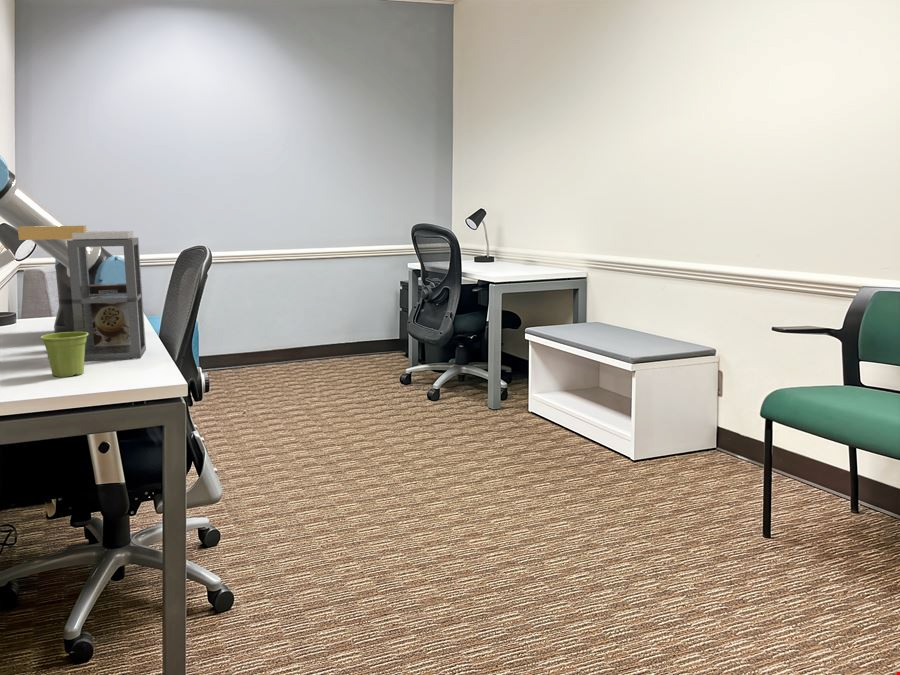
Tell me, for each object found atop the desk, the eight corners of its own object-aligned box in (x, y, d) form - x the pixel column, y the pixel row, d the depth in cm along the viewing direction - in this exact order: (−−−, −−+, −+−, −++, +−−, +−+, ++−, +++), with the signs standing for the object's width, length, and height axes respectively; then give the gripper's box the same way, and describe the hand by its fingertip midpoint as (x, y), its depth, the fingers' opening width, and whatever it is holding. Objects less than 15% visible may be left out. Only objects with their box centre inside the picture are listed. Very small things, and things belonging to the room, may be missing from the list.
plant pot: (38, 380, 174) (34, 339, 172) (50, 371, 183) (47, 332, 182) (86, 377, 176) (82, 337, 174) (95, 369, 185) (92, 330, 183)
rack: (84, 352, 206) (75, 238, 201) (146, 349, 209) (138, 237, 205) (75, 361, 194) (65, 240, 190) (140, 358, 198) (132, 239, 193)
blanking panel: (26, 238, 198) (25, 226, 197) (133, 236, 203) (132, 224, 203) (15, 240, 188) (14, 227, 188) (128, 238, 194) (127, 225, 193)
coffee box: (93, 349, 210) (88, 286, 208) (93, 346, 216) (88, 283, 213) (131, 347, 213) (127, 284, 211) (131, 343, 219) (126, 282, 217)
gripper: (-51, 311, 203) (28, 265, 206) (-90, 325, 179) (-1, 273, 182) (-71, 285, 201) (8, 239, 204) (-113, 296, 177) (-23, 244, 180)
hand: (4, 255), depth 193 cm, fingers open, 13 cm apart
